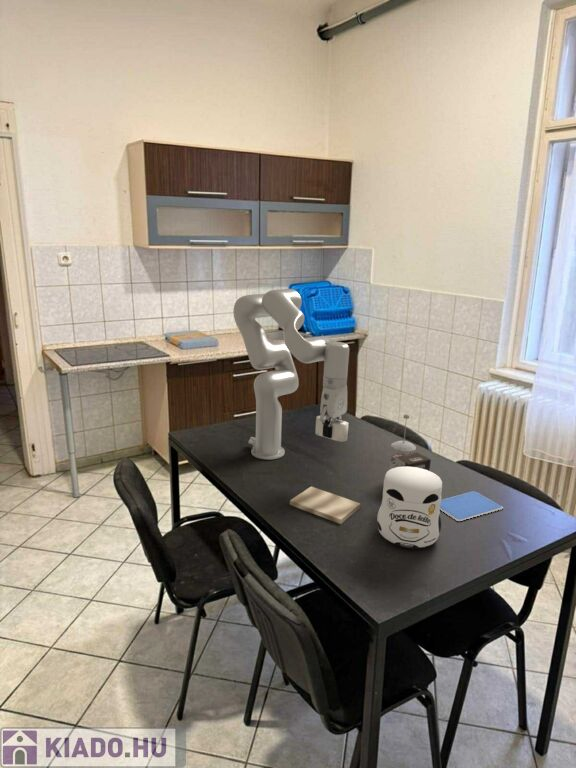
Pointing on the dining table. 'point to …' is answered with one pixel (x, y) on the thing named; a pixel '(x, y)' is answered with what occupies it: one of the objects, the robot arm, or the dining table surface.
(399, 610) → the dining table surface
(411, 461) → the coffee box
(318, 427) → the rounded block
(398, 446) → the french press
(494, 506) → the blue flat pad
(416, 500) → the doce de leite jar
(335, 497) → the birch board
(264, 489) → the dining table surface
